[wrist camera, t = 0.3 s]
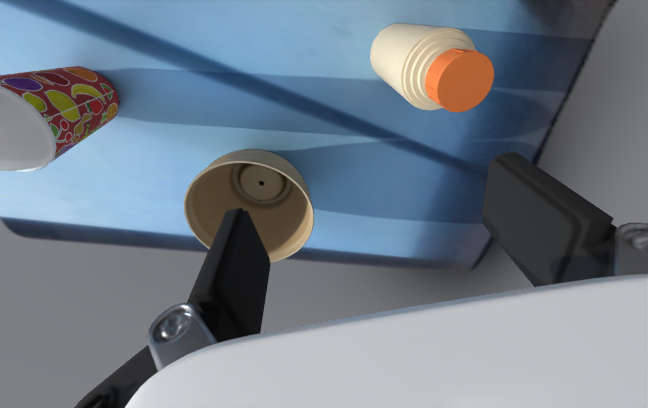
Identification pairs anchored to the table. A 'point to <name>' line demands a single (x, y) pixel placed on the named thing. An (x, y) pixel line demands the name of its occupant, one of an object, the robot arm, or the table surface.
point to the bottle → (413, 57)
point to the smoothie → (50, 114)
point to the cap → (459, 79)
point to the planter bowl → (252, 200)
